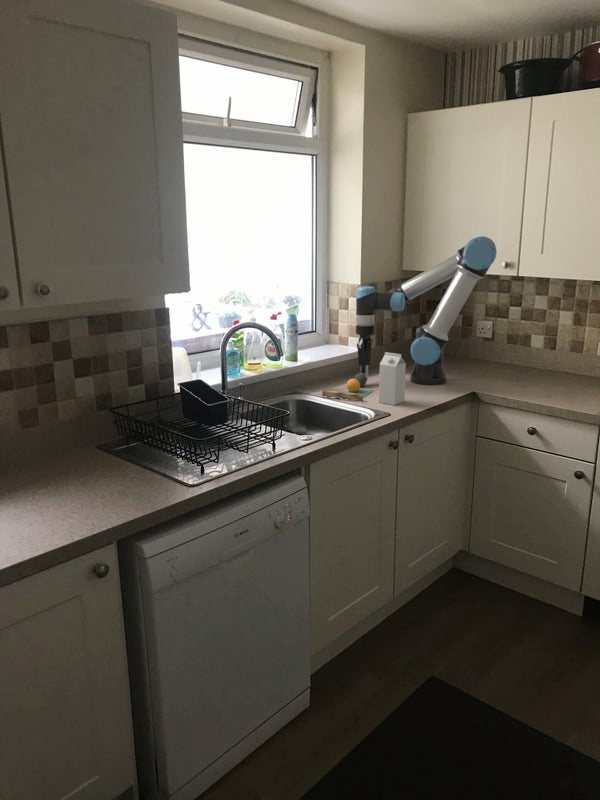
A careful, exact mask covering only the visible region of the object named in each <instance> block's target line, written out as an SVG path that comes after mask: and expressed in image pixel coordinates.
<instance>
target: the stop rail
mask: <svg viewBox="0 0 600 800" xmlns="http://www.w3.org/2000/svg"><path fill="white" fill-rule="evenodd" d="M321 392H322V393H321V395H322V396H327V397H335V398H342V399H348V400H347V401H350V400H354V401H353V402H359V401H361V402H362V401H363V400H364V398H363V394H357V393H347V392H338V391H336V390H328V389H327V390H326V389H323V390H322V391H321Z"/></svg>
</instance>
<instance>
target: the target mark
mask: <svg viewBox="0 0 600 800" xmlns="http://www.w3.org/2000/svg"><path fill="white" fill-rule="evenodd" d="M373 391H374V390H371V389H363V388H362V389H361V388H359V390H358V391H356V392H350V391H348V393H357V394H363V399H364V398H366V396H368V395H370V394H371V393H372V392H373Z"/></svg>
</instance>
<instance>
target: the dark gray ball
mask: <svg viewBox="0 0 600 800" xmlns="http://www.w3.org/2000/svg"><path fill="white" fill-rule="evenodd" d="M353 379H356V380H358V381H359V383H360V388H361V387H364V386H365V385H366V384H367V382H368V380H367V378H366V376H365V375H364V374H361V372H359V373H357V374H355V375H354V377H353Z"/></svg>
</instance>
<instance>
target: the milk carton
mask: <svg viewBox="0 0 600 800" xmlns="http://www.w3.org/2000/svg"><path fill="white" fill-rule="evenodd" d="M402 357H403V356H402V354H401V353H397V352H396V353H395V352H387V351H385V352H384V355H383V358H382V359H381V361H380V362H379V376H378V377H379V378H378V379H379V381H378V382H379V383H378V384H379V385H378V387H379V388H378V402H379V403H381V404H385V405H386V404H387V405H392V406H397V405H398V404H401V403H403V402H405V397H406V395H405V394H406V365H407V362H405V360H404V359H403V358H402Z"/></svg>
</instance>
